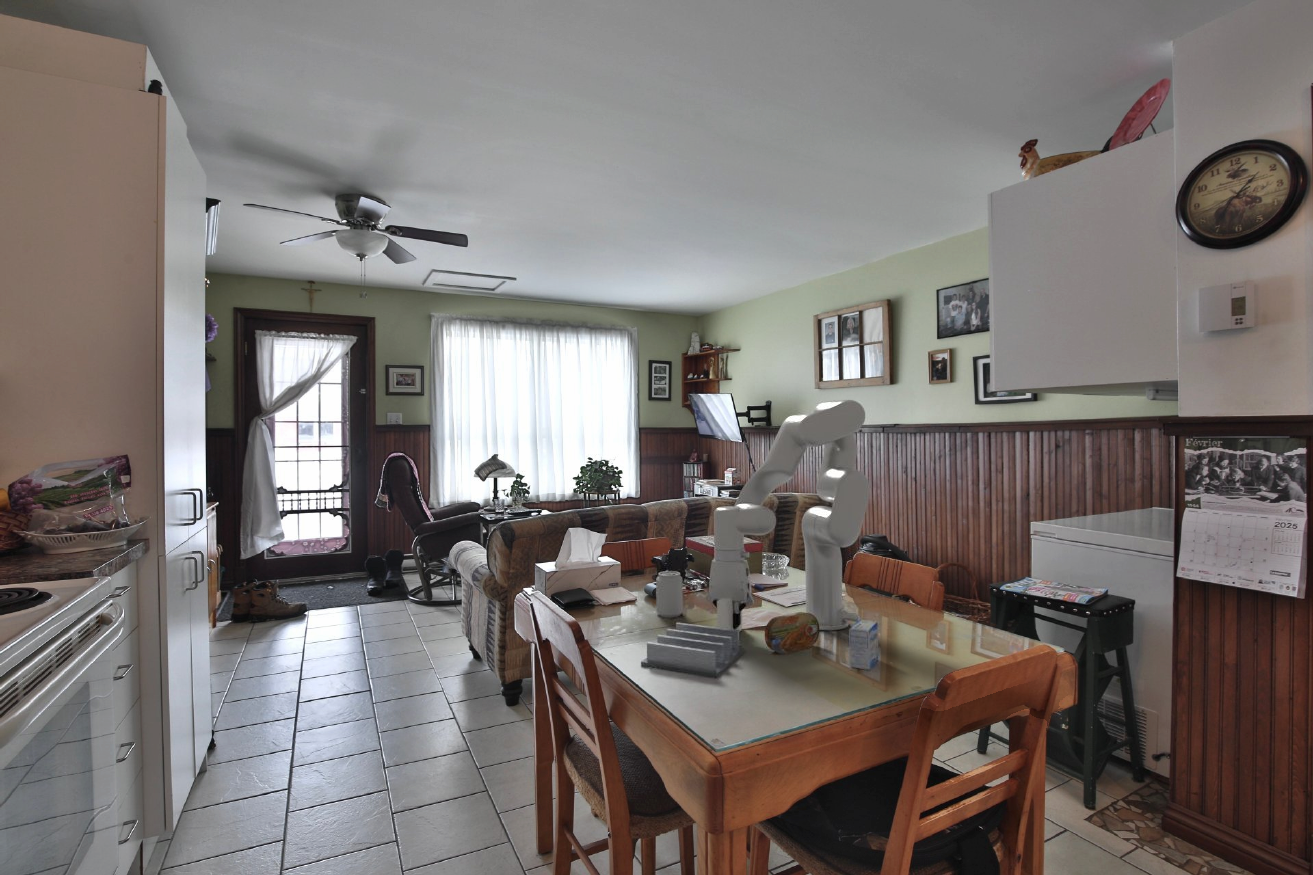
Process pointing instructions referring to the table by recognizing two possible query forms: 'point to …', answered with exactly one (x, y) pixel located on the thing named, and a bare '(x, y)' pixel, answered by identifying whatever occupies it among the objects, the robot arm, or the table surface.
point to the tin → (792, 632)
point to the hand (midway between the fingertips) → (730, 626)
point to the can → (669, 594)
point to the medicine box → (863, 644)
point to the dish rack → (694, 650)
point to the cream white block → (726, 614)
